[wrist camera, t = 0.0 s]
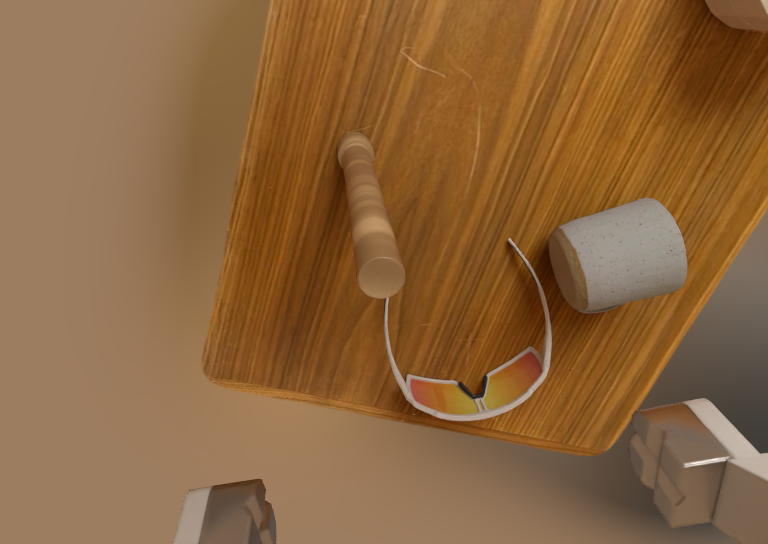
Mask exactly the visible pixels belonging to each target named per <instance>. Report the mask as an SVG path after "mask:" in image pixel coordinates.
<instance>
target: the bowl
mask: <svg viewBox="0 0 768 544" xmlns="http://www.w3.org/2000/svg"><path fill="white" fill-rule="evenodd" d="M705 2H706V3H707V5H708V7H709V9H710V11H711V13H712V14H713V15H714V16H716V17H717V18H718V19H720V20H721V21H722V22H724V23H725V24H726V25H728V26H729V27H731V28H735V29H740V30H745V31H749V32H757V33H767V34H768V0H705Z"/></svg>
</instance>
